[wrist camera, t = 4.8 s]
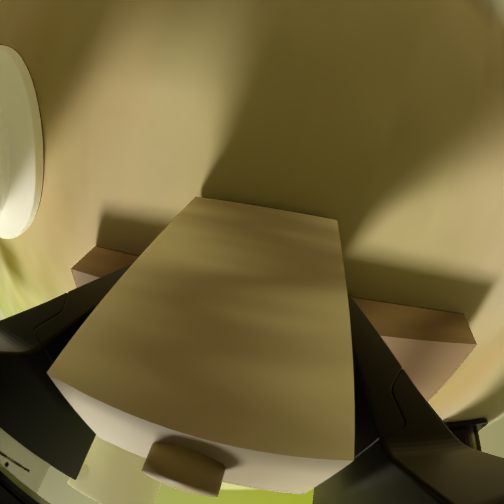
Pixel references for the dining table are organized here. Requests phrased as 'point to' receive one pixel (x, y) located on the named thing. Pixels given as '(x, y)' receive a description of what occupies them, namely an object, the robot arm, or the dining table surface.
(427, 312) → the board
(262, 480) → the beige box with knob
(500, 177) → the dining table surface
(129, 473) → the mug
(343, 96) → the dining table surface
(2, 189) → the decorative vase
